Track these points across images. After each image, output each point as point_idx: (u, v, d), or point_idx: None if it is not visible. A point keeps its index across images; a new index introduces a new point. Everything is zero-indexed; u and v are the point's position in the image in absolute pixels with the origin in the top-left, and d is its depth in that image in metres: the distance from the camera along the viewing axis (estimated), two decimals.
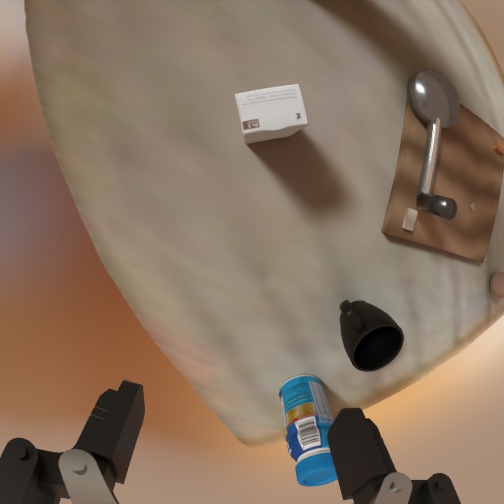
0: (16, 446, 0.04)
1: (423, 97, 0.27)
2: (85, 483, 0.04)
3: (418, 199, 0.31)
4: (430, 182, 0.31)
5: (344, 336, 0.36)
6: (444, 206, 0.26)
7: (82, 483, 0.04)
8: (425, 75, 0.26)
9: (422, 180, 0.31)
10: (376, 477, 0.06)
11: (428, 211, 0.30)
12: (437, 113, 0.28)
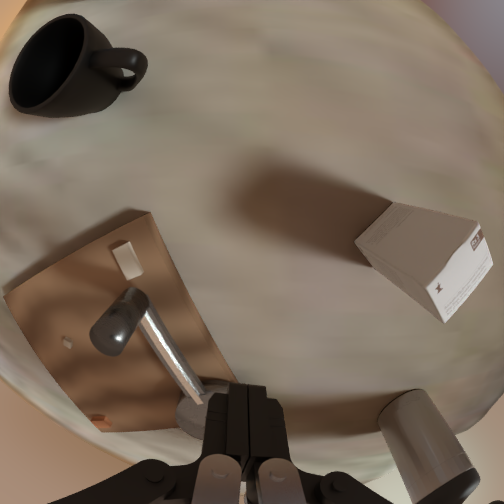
0: (152, 469, 0.05)
1: None
2: (218, 487, 0.05)
3: (145, 299, 0.21)
4: (147, 332, 0.22)
5: (107, 39, 0.14)
6: (117, 337, 0.15)
7: (232, 486, 0.05)
8: None
9: (159, 324, 0.22)
10: (259, 459, 0.07)
11: (123, 300, 0.19)
12: (205, 407, 0.25)
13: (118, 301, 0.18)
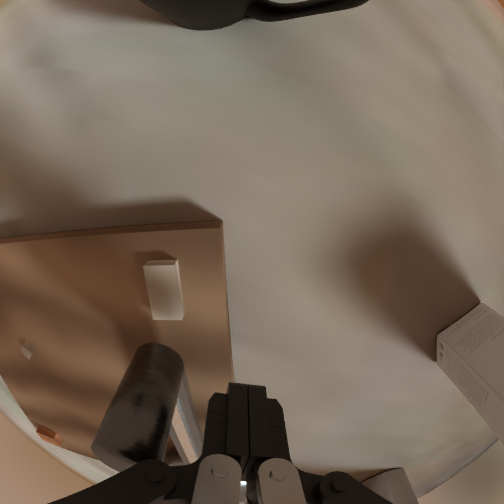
0: (152, 469, 0.05)
1: (241, 485, 0.16)
2: (218, 487, 0.05)
3: (182, 369, 0.12)
4: None
5: None
6: None
7: (232, 486, 0.05)
8: (243, 498, 0.17)
9: (188, 399, 0.13)
10: (259, 459, 0.07)
11: (152, 379, 0.10)
12: None
13: (144, 381, 0.09)
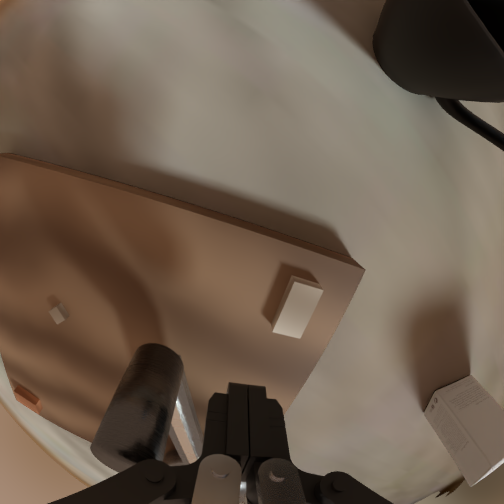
0: (153, 469, 0.05)
1: (241, 485, 0.16)
2: (218, 487, 0.05)
3: (182, 370, 0.12)
4: None
5: None
6: None
7: (232, 486, 0.05)
8: (243, 498, 0.17)
9: (187, 399, 0.13)
10: (259, 459, 0.07)
11: (152, 380, 0.10)
12: None
13: (143, 381, 0.09)
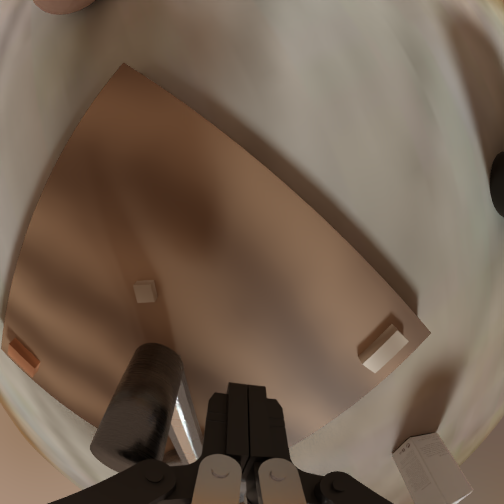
0: (152, 469, 0.05)
1: None
2: (218, 487, 0.05)
3: (181, 370, 0.12)
4: None
5: None
6: None
7: (232, 486, 0.05)
8: (242, 498, 0.17)
9: (187, 399, 0.13)
10: (259, 459, 0.07)
11: (152, 379, 0.10)
12: None
13: (143, 381, 0.09)
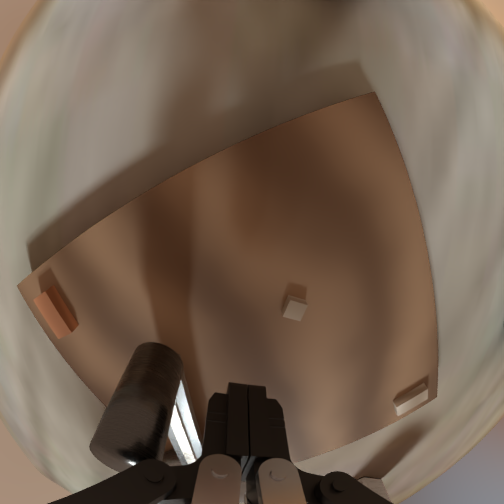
0: (152, 469, 0.05)
1: None
2: (218, 487, 0.05)
3: (181, 369, 0.12)
4: None
5: None
6: None
7: (232, 486, 0.05)
8: (240, 499, 0.17)
9: (187, 399, 0.13)
10: (259, 459, 0.07)
11: (152, 378, 0.10)
12: None
13: (143, 380, 0.09)
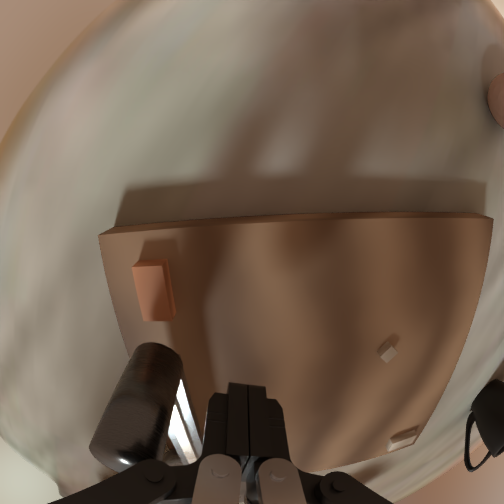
0: (152, 469, 0.05)
1: None
2: (218, 487, 0.05)
3: (181, 369, 0.12)
4: None
5: None
6: None
7: (232, 486, 0.05)
8: (243, 498, 0.17)
9: (187, 399, 0.13)
10: (259, 459, 0.07)
11: (151, 379, 0.10)
12: None
13: (143, 380, 0.09)
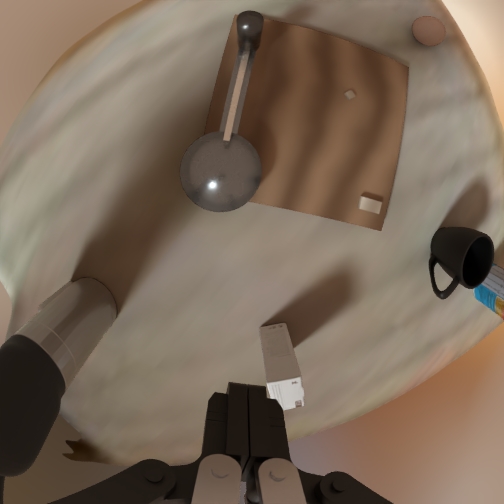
0: (152, 469, 0.05)
1: (250, 163, 0.29)
2: (218, 487, 0.05)
3: None
4: (240, 62, 0.25)
5: None
6: (261, 21, 0.19)
7: (232, 486, 0.05)
8: (242, 197, 0.30)
9: (252, 64, 0.26)
10: (259, 459, 0.07)
11: None
12: (226, 147, 0.28)
13: None
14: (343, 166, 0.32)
